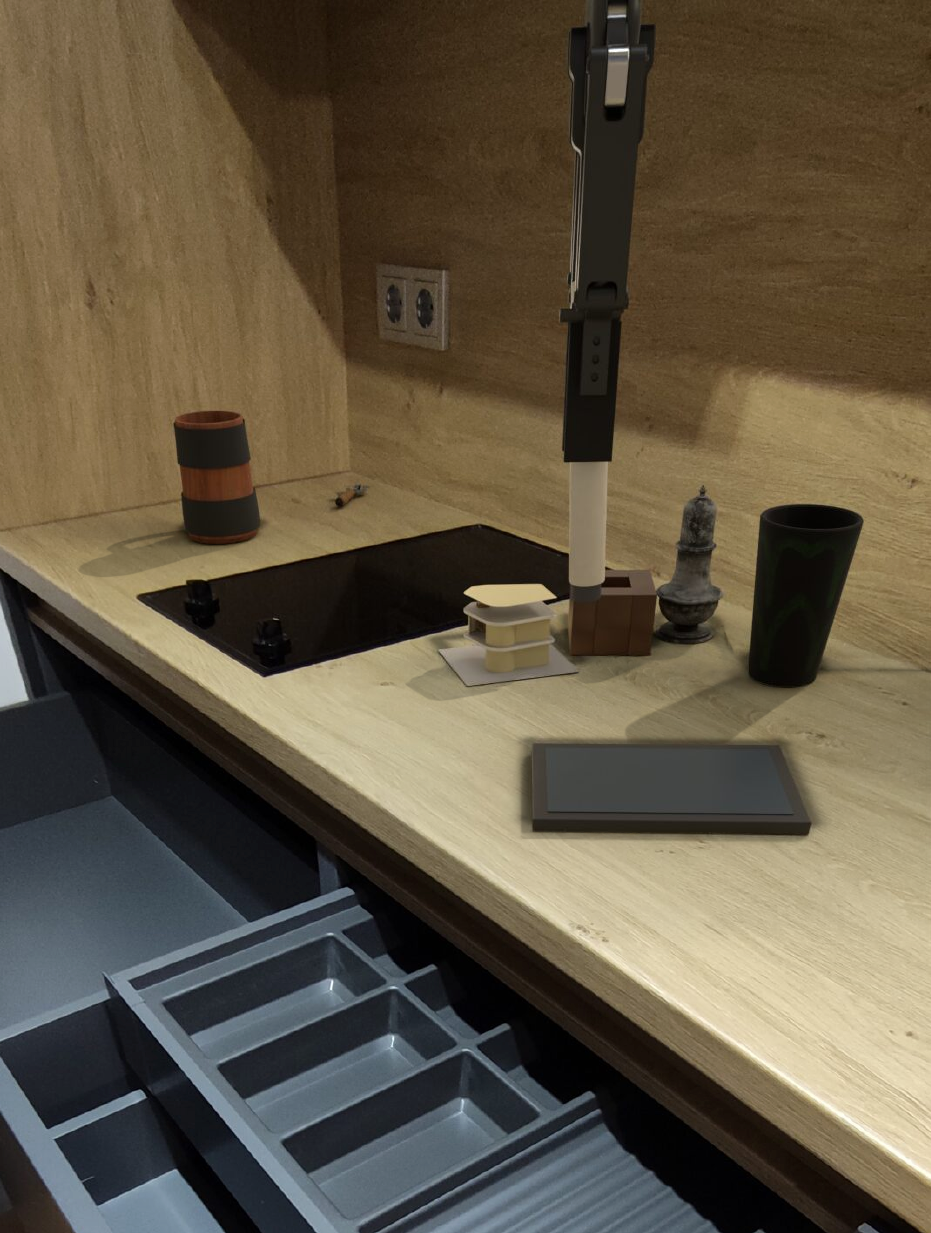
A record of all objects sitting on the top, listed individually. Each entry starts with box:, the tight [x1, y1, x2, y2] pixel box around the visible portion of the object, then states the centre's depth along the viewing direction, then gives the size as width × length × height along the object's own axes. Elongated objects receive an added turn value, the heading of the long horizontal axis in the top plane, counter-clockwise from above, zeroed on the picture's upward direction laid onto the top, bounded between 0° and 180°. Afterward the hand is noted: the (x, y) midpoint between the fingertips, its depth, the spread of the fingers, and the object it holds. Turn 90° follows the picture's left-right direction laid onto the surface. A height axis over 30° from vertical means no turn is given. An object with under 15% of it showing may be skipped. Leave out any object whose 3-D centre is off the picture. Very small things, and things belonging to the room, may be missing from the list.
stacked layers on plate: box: [437, 583, 581, 687], centre depth 94 cm, size 10×9×6 cm
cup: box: [747, 503, 865, 688], centre depth 89 cm, size 8×8×12 cm
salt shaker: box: [654, 484, 724, 645], centre depth 96 cm, size 6×6×12 cm
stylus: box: [568, 281, 609, 603], centre depth 64 cm, size 2×2×16 cm
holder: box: [567, 569, 658, 656], centre depth 98 cm, size 7×7×5 cm
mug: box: [172, 410, 261, 545], centre depth 125 cm, size 9×12×12 cm
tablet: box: [530, 742, 812, 835], centre depth 77 cm, size 18×12×1 cm, turn 86°
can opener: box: [334, 482, 368, 508], centre depth 138 cm, size 9×2×1 cm, turn 160°
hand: (586, 453), depth 64 cm, fingers closed on stylus, 2 cm apart
